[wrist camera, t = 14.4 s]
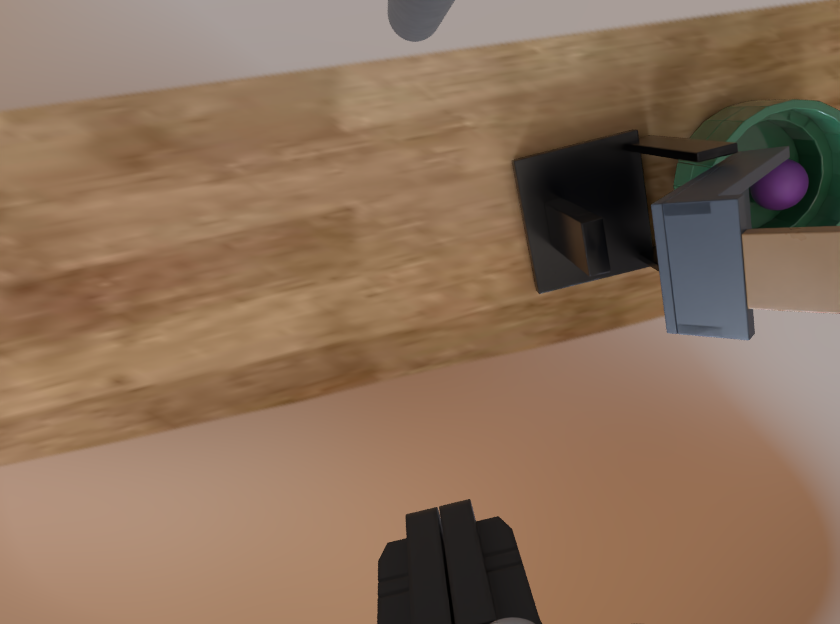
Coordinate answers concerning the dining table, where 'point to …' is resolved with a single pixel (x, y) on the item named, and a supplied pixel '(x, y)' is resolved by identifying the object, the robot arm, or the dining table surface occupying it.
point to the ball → (781, 186)
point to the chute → (738, 254)
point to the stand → (595, 205)
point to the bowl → (808, 145)
